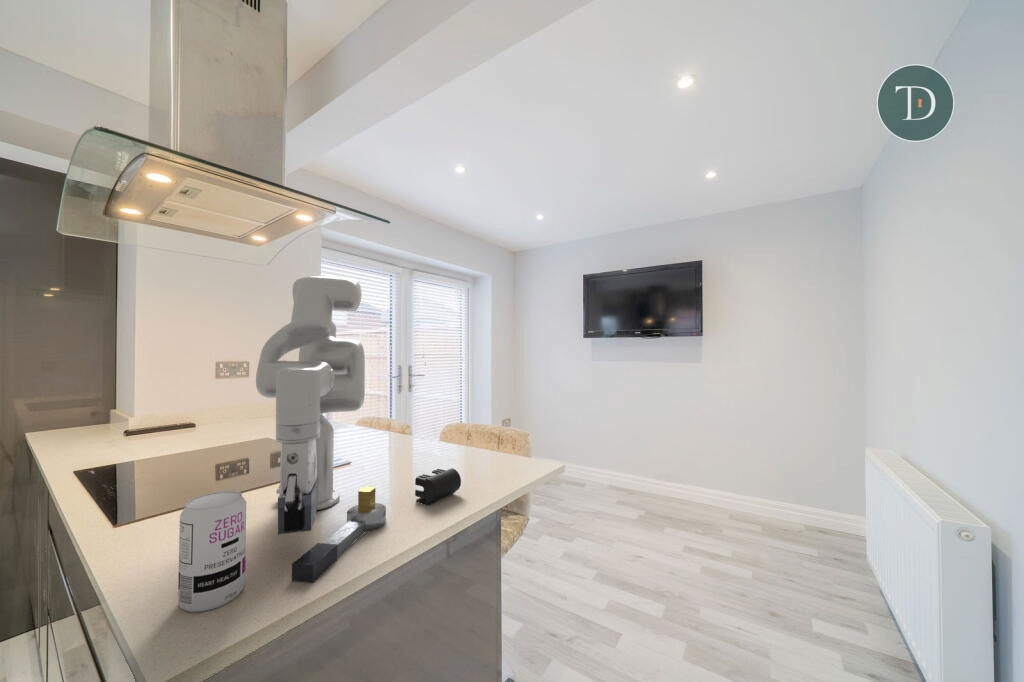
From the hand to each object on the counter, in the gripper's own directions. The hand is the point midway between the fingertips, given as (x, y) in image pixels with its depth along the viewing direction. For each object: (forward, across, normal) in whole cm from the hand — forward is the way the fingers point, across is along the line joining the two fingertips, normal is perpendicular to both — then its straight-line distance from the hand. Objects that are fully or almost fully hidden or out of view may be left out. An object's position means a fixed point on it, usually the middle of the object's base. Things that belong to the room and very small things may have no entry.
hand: (297, 520), depth 77 cm
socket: (+1, 0, 0) cm, 1 cm away
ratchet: (+4, -2, -9) cm, 10 cm away
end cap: (+6, +15, -29) cm, 33 cm away
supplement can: (+4, -14, +9) cm, 17 cm away
